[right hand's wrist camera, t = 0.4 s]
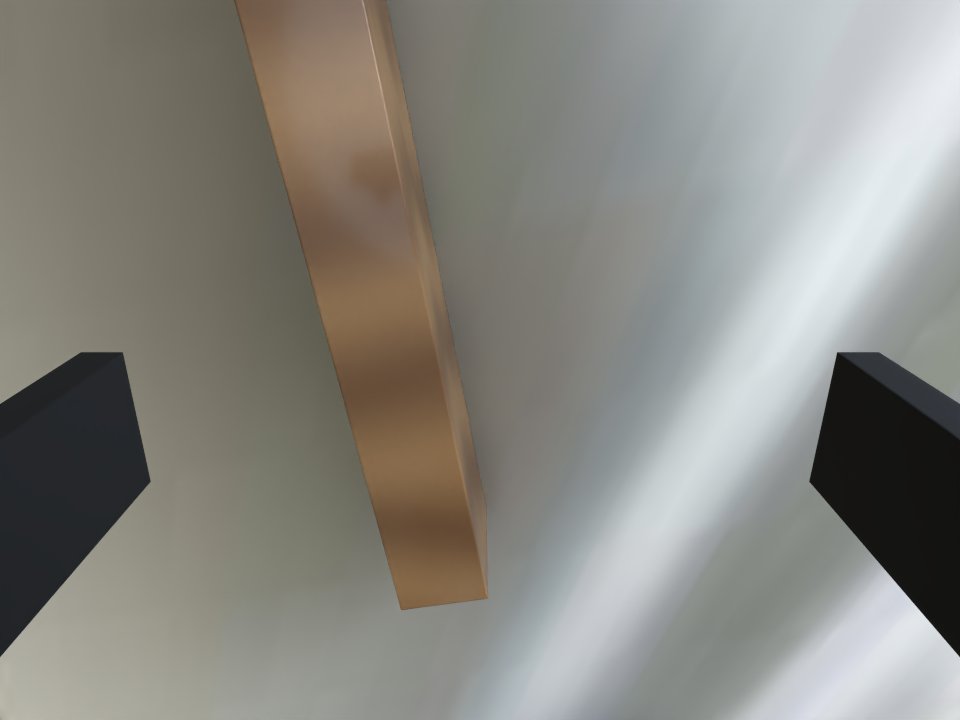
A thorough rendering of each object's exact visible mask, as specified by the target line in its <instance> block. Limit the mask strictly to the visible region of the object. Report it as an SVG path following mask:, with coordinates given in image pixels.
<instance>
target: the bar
mask: <svg viewBox="0 0 960 720" xmlns="http://www.w3.org/2000/svg"><path fill="white" fill-rule="evenodd" d="M234 1H235V5H236V8H237V12H238V16H239V19H240V23H241V27H242V30H243V34H244V38H245V41H246V45H247V49H248V52H249V56H250V60H251V63H252V67H253V71H254V74H255V78H256V81H257V85H258V89H259V92H260V96H261V100H262V103H263V107H264V111H265V114H266V118H267V122H268V125H269V129H270V133H271V136H272V140H273V144H274V147H275V151H276V155H277V158H278V162H279V166H280V169H281V173H282V177H283V180H284V184H285V187H286V191H287V195H288V198H289V202H290V206H291V209H292V213H293V217H294V220H295V224H296V228H297V231H298V235H299V239H300V242H301V246H302V250H303V253H304V257H305V261H306V264H307V268H308V272H309V275H310V279H311V283H312V286H313V290H314V293H315V297H316V301H317V304H318V308H319V312H320V315H321V319H322V323H323V326H324V330H325V334H326V337H327V341H328V345H329V348H330V352H331V356H332V359H333V363H334V367H335V370H336V374H337V378H338V381H339V385H340V388H341V392H342V396H343V399H344V403H345V407H346V410H347V414H348V418H349V421H350V425H351V429H352V432H353V436H354V440H355V443H356V447H357V451H358V454H359V458H360V462H361V465H362V469H363V473H364V476H365V480H366V484H367V487H368V491H369V494H370V498H371V502H372V505H373V509H374V513H375V516H376V520H377V524H378V527H379V531H380V535H381V538H382V542H383V546H384V549H385V553H386V557H387V560H388V564H389V568H390V571H391V575H392V579H393V582H394V586H395V590H396V593H397V597H398V600H399V604H400V608H401V610H406V609H413V608H421V607H428V606H436V605H443V604H451V603H458V602H466V601H473V600H481V599H487V598H488V564H487V510H486V504H485V499H484V494H483V489H482V484H481V479H480V474H479V469H478V464H477V459H476V454H475V449H474V444H473V439H472V433H471V428H470V423H469V418H468V413H467V408H466V403H465V398H464V393H463V388H462V383H461V378H460V373H459V367H458V362H457V357H456V352H455V347H454V342H453V337H452V332H451V327H450V322H449V317H448V312H447V307H446V302H445V296H444V291H443V286H442V281H441V276H440V271H439V266H438V261H437V256H436V251H435V246H434V241H433V236H432V231H431V225H430V220H429V215H428V210H427V205H426V200H425V195H424V190H423V185H422V180H421V175H420V170H419V165H418V159H417V154H416V149H415V144H414V139H413V134H412V129H411V124H410V119H409V114H408V109H407V104H406V99H405V94H404V88H403V83H402V78H401V73H400V68H399V63H398V58H397V53H396V48H395V43H394V38H393V33H392V28H391V22H390V17H389V12H388V7H387V2H386V0H234Z"/></svg>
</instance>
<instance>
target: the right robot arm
mask: <svg viewBox="0 0 960 720" xmlns="http://www.w3.org/2000/svg"><path fill="white" fill-rule="evenodd" d="M150 482H151V481H150V477H149V472H148V467H147V463H146V458H145V453H144V449H143V444H142V439H141V435H140V430H139V426H138V421H137V416H136V412H135V407H134V402H133V398H132V393H131V389H130V384H129V379H128V375H127V370H126V365H125V361H124V356H123V352H81V353H79V354H78V355H76V356H75V357H73V358H72V359H70V360H68V361H67V362H65V363H64V364H62V365H61V366H59V367H57V368H56V369H54V370H53V371H51V372H50V373H48V374H46V375H45V376H43V377H42V378H40V379H39V380H37V381H36V382H34V383H32V384H31V385H29V386H28V387H26V388H25V389H23V390H21V391H20V392H18V393H17V394H15V395H14V396H12V397H10V398H9V399H7V400H6V401H4V402H3V403H1V404H0V657H1V655H2V654H3V653H4V652H5V651H6V650H7V648H8V647H9V646H10V645H11V644H12V643H13V641H14V640H15V639H16V638H17V637H18V636H19V634H20V633H21V632H22V631H23V630H24V629H25V627H26V626H27V625H28V624H29V623H30V622H31V620H32V619H33V618H34V617H35V616H36V615H37V613H38V612H39V611H40V610H41V609H42V608H43V606H44V605H45V604H46V603H47V602H48V601H49V599H50V598H51V597H52V596H53V595H54V594H55V592H56V591H57V590H58V589H59V588H60V587H61V585H62V584H63V583H64V582H65V581H66V580H67V578H68V577H69V576H70V575H71V574H72V573H73V571H74V570H75V569H76V568H77V567H78V566H79V564H80V563H81V562H82V561H83V560H84V559H85V557H86V556H87V555H88V554H89V553H90V552H91V550H92V549H93V548H94V547H95V546H96V545H97V543H98V542H99V541H100V540H101V539H102V538H103V536H104V535H105V534H106V533H107V532H108V531H109V529H110V528H111V527H112V526H113V525H114V524H115V522H116V521H117V520H118V519H119V518H120V517H121V515H122V514H123V513H124V512H125V511H126V510H127V508H128V507H129V506H130V505H131V504H132V503H133V501H134V500H135V499H136V498H137V497H138V496H139V494H140V493H141V492H142V491H143V490H144V489H145V487H146V486H147V485H148V484H149V483H150ZM809 482H810V483H811V484H812V485H813V486H814V487H815V489H816V490H817V491H818V492H819V493H820V494H821V496H822V497H823V498H824V499H825V500H826V501H827V503H828V504H829V505H830V506H831V507H832V508H833V510H834V511H835V512H836V513H837V514H838V515H839V517H840V518H841V519H842V520H843V521H844V522H845V524H846V525H847V526H848V527H849V528H850V529H851V531H852V532H853V533H854V534H855V535H856V536H857V538H858V539H859V540H860V541H861V542H862V543H863V545H864V546H865V547H866V548H867V549H868V550H869V552H870V553H871V554H872V555H873V556H874V557H875V559H876V560H877V561H878V562H879V563H880V564H881V566H882V567H883V568H884V569H885V570H886V571H887V573H888V574H889V575H890V576H891V577H892V578H893V580H894V581H895V582H896V583H897V584H898V585H899V587H900V588H901V589H902V590H903V591H904V592H905V594H906V595H907V596H908V597H909V598H910V599H911V601H912V602H913V603H914V604H915V605H916V606H917V608H918V609H919V610H920V611H921V612H922V613H923V615H924V616H925V617H926V618H927V619H928V620H929V622H930V623H931V624H932V625H933V626H934V627H935V629H936V630H937V631H938V632H939V633H940V634H941V636H942V637H943V638H944V639H945V640H946V641H947V643H948V644H949V645H950V646H951V647H952V648H953V650H954V651H955V652H956V653H957V654H958V655H959V657H960V404H959V403H957V402H956V401H954V400H953V399H951V398H950V397H948V396H946V395H945V394H943V393H942V392H940V391H939V390H937V389H935V388H934V387H932V386H931V385H929V384H928V383H926V382H924V381H923V380H921V379H920V378H918V377H917V376H915V375H914V374H912V373H910V372H909V371H907V370H906V369H904V368H903V367H901V366H899V365H898V364H896V363H895V362H893V361H892V360H890V359H888V358H887V357H885V356H884V355H882V354H881V353H879V352H837V356H836V361H835V365H834V370H833V375H832V379H831V384H830V389H829V393H828V398H827V402H826V407H825V412H824V416H823V421H822V426H821V430H820V435H819V439H818V444H817V449H816V453H815V458H814V463H813V467H812V472H811V477H810V481H809Z"/></svg>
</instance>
